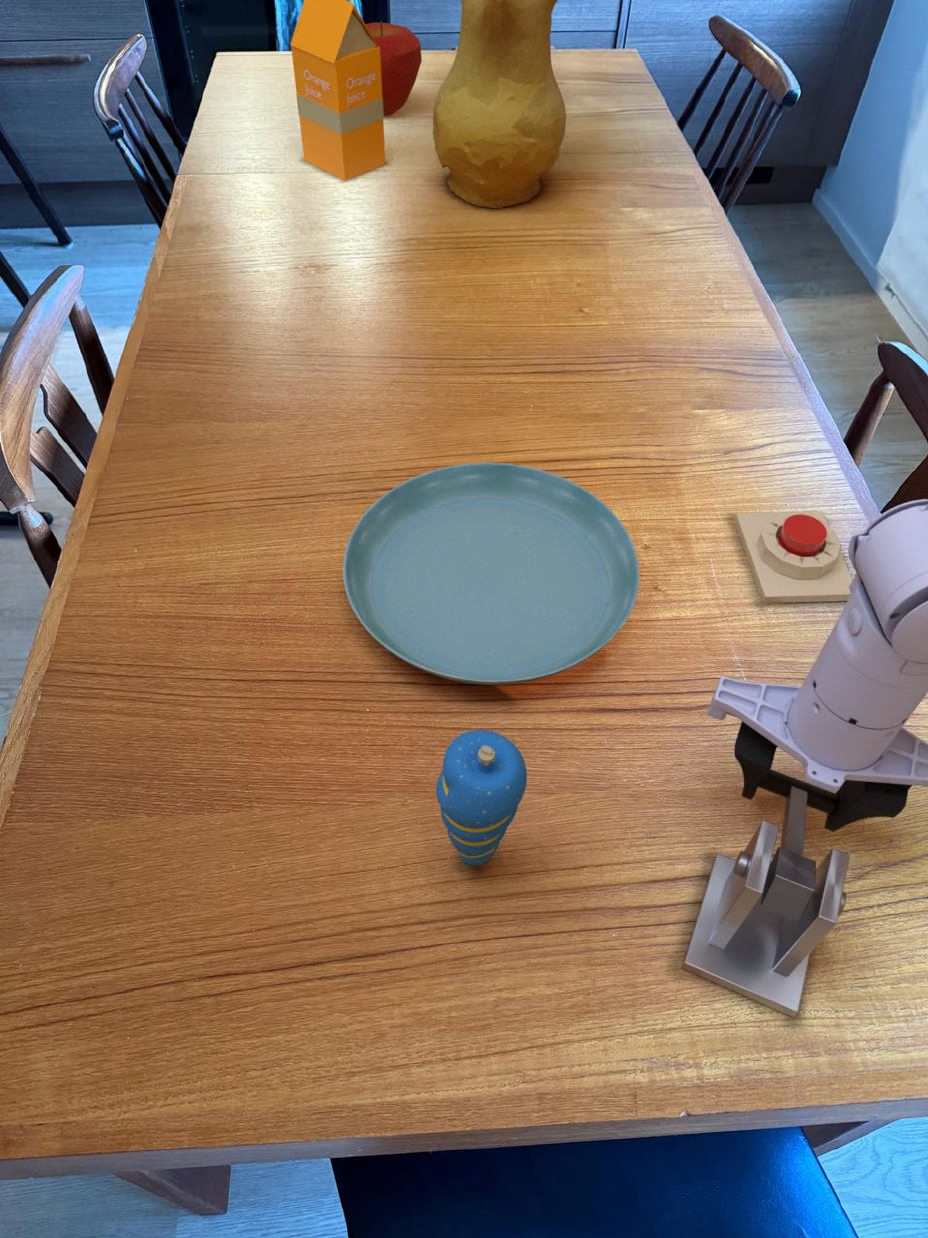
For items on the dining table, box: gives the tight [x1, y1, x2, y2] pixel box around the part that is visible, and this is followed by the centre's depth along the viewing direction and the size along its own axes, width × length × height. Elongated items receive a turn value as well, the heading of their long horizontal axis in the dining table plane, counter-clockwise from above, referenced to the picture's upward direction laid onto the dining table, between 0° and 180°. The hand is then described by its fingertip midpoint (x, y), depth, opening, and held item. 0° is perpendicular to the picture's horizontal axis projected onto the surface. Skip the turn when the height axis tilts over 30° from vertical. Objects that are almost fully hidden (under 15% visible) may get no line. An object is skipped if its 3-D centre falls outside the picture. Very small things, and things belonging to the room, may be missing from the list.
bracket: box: [681, 820, 851, 1018], centre depth 54 cm, size 8×7×10 cm
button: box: [779, 514, 827, 557], centre depth 76 cm, size 4×4×2 cm
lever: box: [758, 768, 839, 921], centre depth 55 cm, size 12×5×2 cm, turn 156°
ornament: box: [435, 729, 528, 866], centre depth 54 cm, size 5×5×15 cm
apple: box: [365, 20, 423, 117], centre depth 132 cm, size 11×11×12 cm
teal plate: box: [342, 462, 640, 686], centre depth 74 cm, size 24×24×3 cm
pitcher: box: [432, 0, 567, 209], centre depth 113 cm, size 17×19×25 cm
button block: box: [733, 510, 854, 604], centre depth 77 cm, size 10×8×2 cm
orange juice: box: [289, 0, 386, 182], centre depth 118 cm, size 8×9×20 cm
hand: (789, 801), depth 61 cm, fingers closed on lever, 5 cm apart
